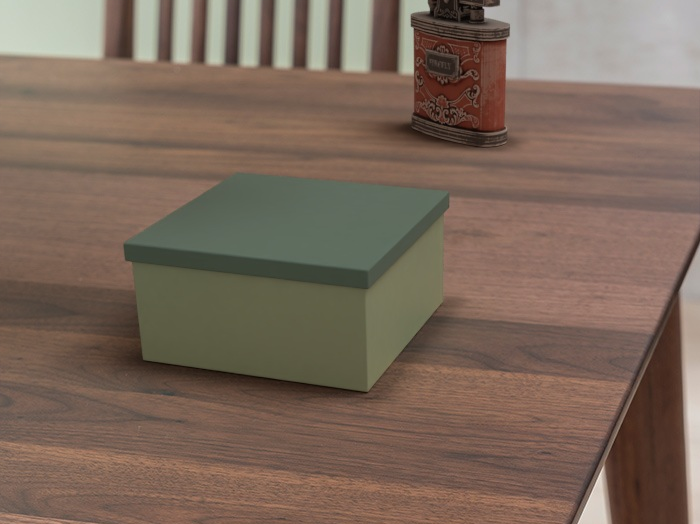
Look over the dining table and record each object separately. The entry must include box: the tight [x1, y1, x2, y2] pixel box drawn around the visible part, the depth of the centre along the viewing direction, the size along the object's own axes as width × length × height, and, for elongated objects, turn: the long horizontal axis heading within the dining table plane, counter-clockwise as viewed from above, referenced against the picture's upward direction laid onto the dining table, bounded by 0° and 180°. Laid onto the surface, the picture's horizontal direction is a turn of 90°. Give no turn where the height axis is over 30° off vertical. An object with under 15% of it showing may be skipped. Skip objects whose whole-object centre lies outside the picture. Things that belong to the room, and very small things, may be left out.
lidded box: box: [122, 171, 450, 393], centre depth 54 cm, size 11×10×5 cm
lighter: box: [410, 0, 511, 148], centre depth 82 cm, size 8×3×10 cm, turn 41°
